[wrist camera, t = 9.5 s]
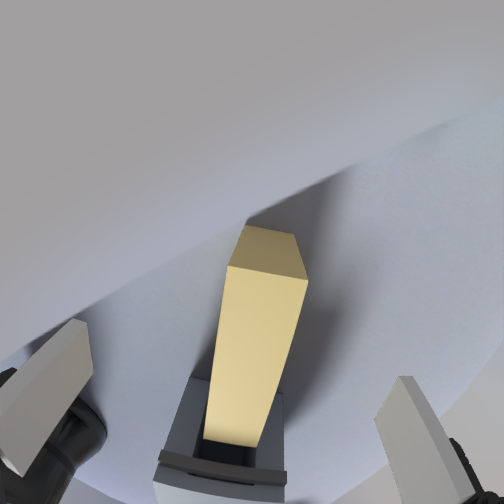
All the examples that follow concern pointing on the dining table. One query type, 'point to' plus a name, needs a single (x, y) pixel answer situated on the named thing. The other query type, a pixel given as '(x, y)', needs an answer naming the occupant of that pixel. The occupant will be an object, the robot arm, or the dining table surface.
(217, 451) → the dispenser
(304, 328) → the dining table surface
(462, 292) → the dining table surface
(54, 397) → the robot arm
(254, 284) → the upright yellow slab
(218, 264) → the dining table surface
